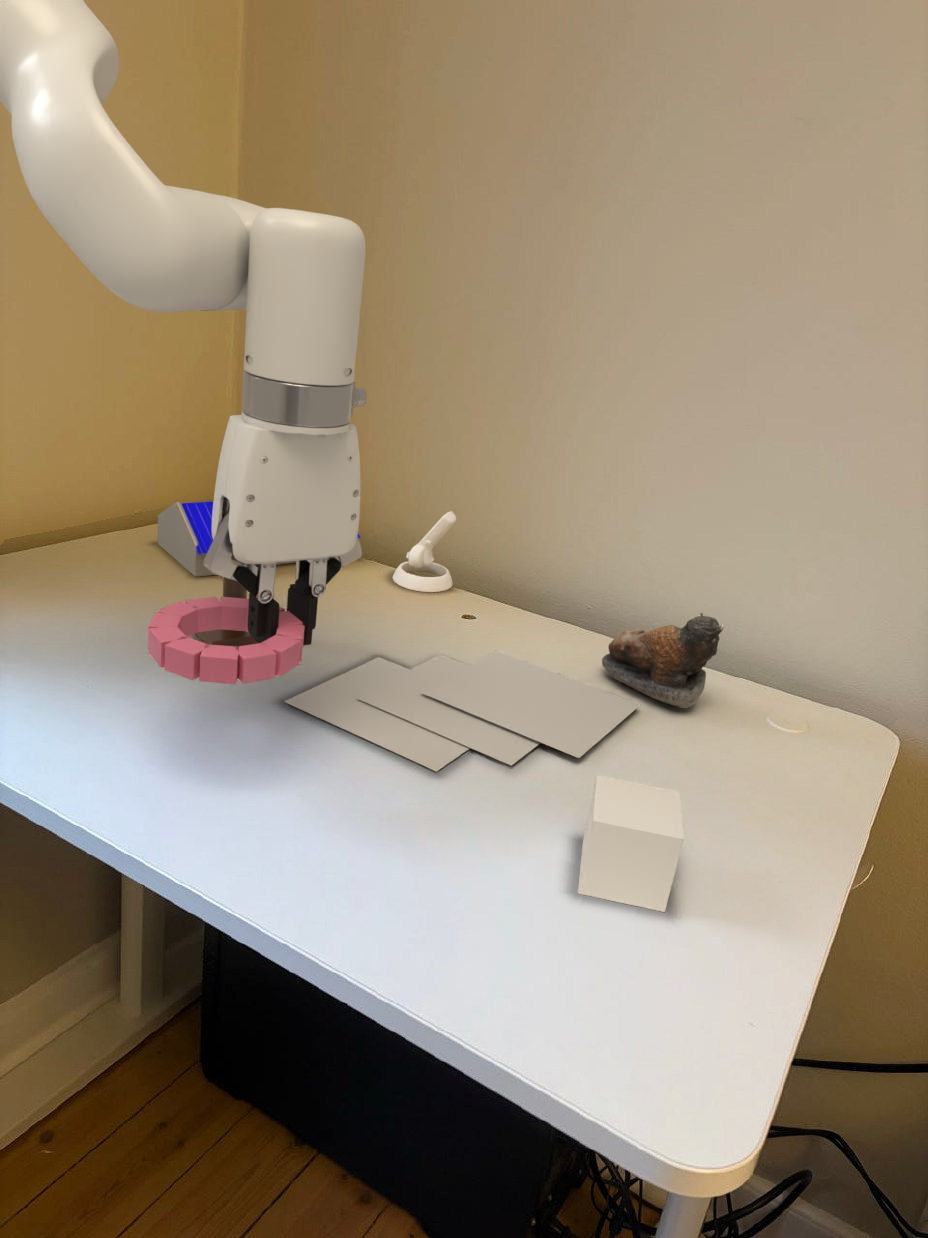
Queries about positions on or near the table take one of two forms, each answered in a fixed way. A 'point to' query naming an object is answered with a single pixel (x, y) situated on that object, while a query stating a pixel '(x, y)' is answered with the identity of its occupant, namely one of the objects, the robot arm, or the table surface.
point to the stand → (229, 636)
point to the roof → (189, 534)
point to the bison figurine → (665, 659)
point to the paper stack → (466, 708)
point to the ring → (216, 660)
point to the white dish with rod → (426, 561)
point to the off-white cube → (631, 843)
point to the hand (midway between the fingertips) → (281, 639)
